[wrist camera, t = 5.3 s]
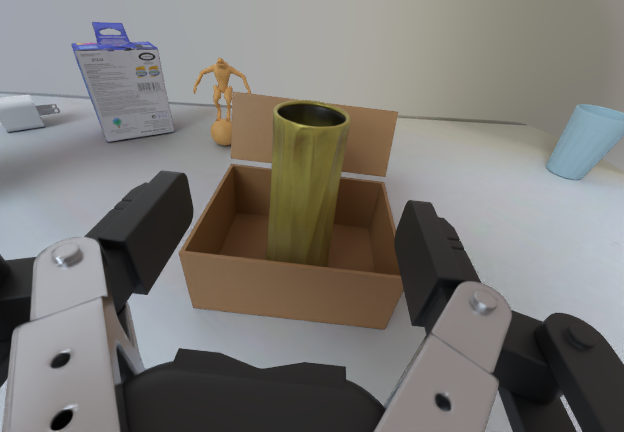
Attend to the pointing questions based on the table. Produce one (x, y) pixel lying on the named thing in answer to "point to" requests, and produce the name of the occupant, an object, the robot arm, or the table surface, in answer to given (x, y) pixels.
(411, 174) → the table surface
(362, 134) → the flap
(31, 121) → the usb wall charger
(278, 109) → the vase
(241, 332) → the table surface
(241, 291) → the carton
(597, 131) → the cup
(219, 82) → the figurine
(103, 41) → the ink cartridge box
